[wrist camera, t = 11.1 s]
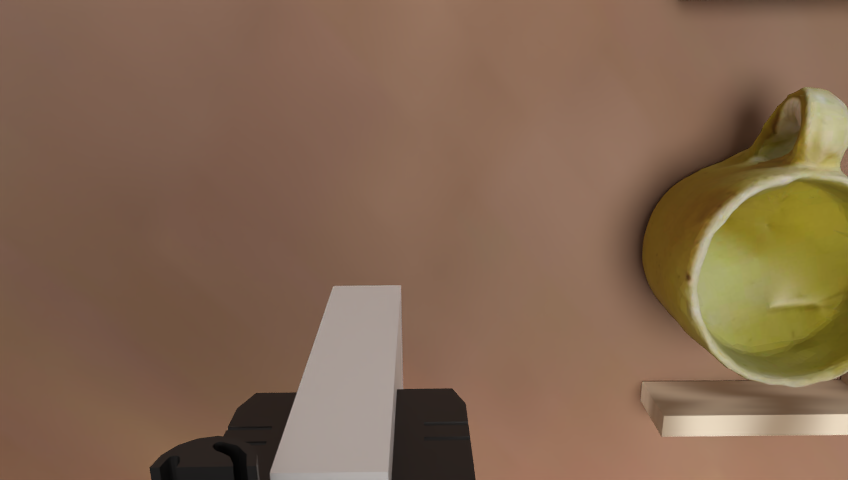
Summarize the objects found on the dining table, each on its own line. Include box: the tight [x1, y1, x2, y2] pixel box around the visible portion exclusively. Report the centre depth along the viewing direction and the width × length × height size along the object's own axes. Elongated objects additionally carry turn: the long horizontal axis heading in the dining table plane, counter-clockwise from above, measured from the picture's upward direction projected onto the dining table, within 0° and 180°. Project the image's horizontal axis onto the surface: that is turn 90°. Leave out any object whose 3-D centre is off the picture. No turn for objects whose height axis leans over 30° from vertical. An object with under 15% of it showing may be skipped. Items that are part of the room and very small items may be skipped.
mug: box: [642, 87, 848, 387], centre depth 30 cm, size 12×10×10 cm
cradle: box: [640, 372, 848, 437], centre depth 32 cm, size 12×22×4 cm, turn 1°
